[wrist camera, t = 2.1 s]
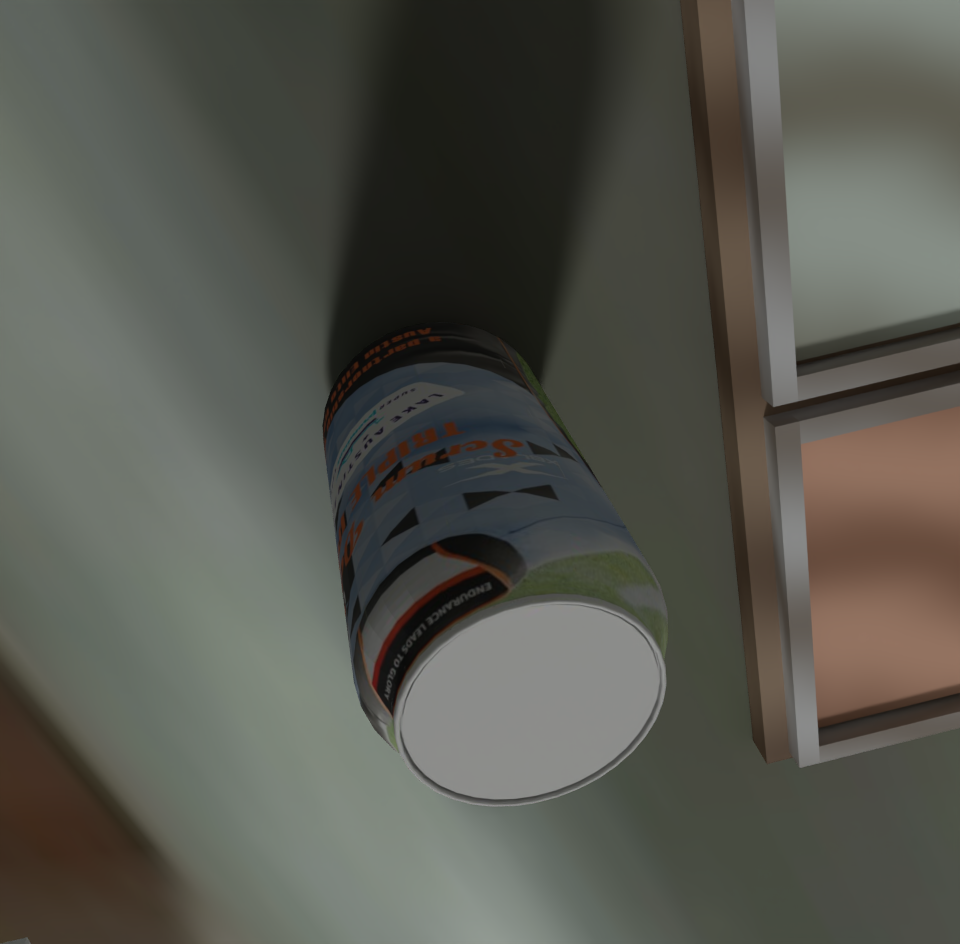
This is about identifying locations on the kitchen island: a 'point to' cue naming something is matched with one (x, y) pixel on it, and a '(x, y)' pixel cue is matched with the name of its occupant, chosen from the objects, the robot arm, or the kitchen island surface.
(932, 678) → the framed panel board
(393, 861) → the kitchen island surface
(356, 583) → the beverage can
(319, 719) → the kitchen island surface
